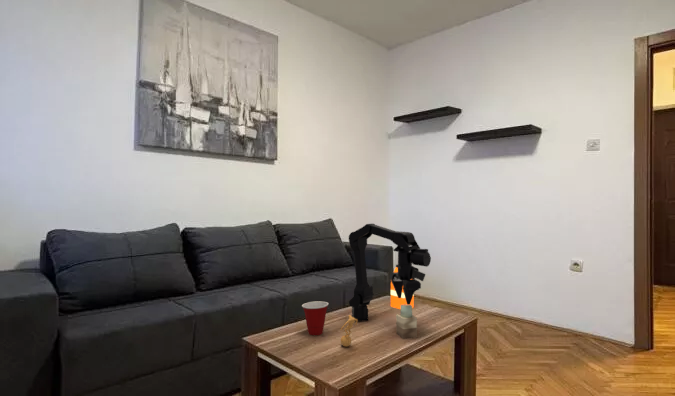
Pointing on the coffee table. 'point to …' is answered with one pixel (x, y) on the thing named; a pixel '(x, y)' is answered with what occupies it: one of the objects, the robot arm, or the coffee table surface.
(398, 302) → the orange juice
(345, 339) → the figurine
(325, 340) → the coffee table surface
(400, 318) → the birch block
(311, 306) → the plastic cup
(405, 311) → the stubby sage cylinder
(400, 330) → the walnut block
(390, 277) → the robot arm
